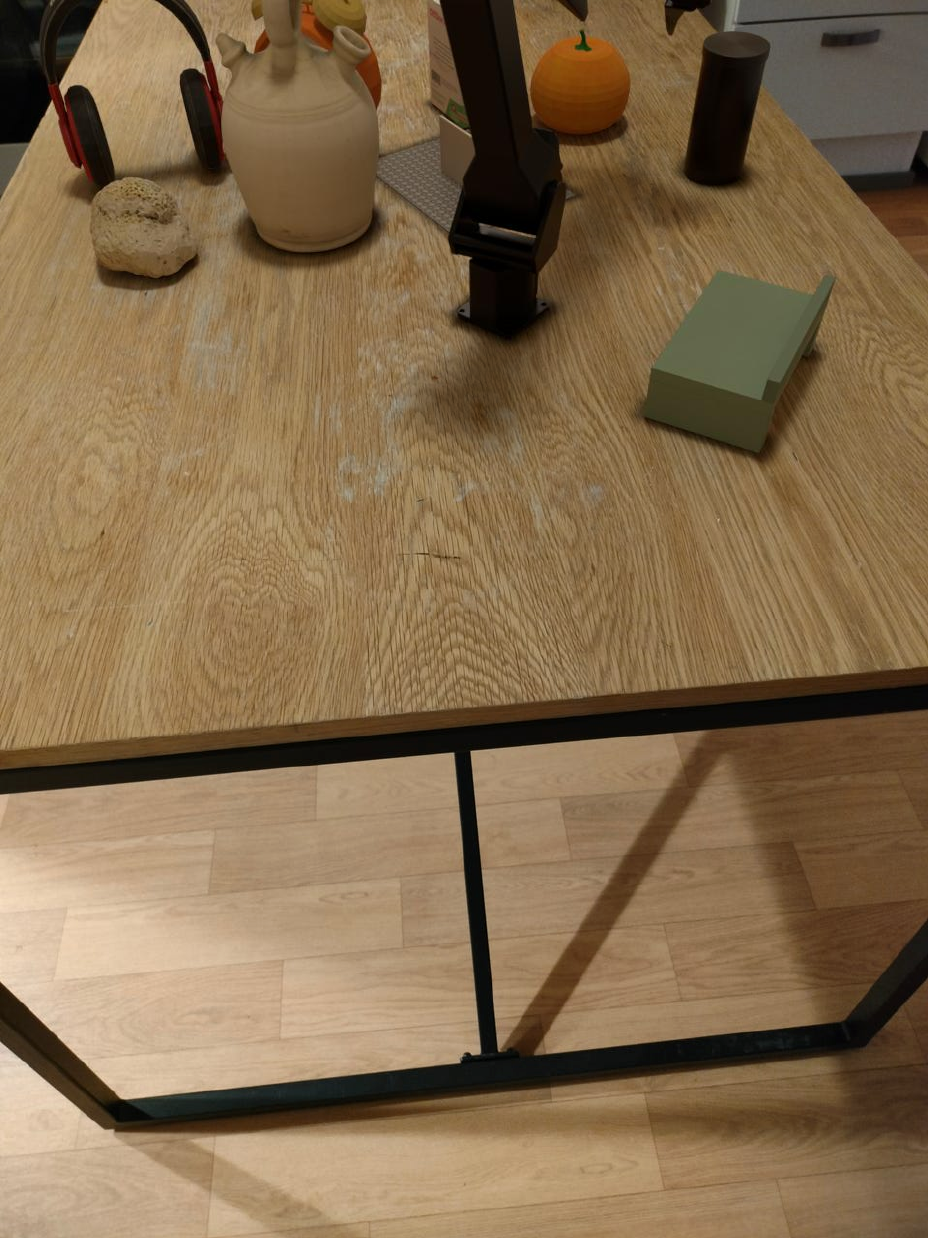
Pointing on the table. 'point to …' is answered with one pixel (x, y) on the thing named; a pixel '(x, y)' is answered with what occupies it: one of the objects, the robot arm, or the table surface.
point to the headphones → (82, 114)
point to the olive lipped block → (734, 358)
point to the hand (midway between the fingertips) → (627, 24)
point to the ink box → (443, 67)
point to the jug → (301, 133)
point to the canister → (725, 106)
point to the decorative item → (140, 229)
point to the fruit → (580, 85)
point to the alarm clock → (331, 33)
